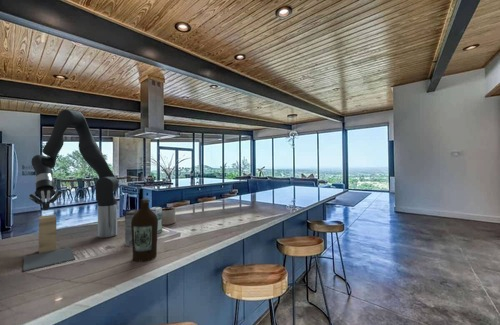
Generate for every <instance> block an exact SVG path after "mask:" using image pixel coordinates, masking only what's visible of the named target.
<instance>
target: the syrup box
mask: <svg viewBox="0 0 500 325" xmlns="http://www.w3.org/2000/svg"><path fill="white" fill-rule="evenodd" d="M149 208H150V209H151V210H152V211H153V212H154V213H155V214H156V216H157V218H158V230H157V234H159V233H161V232H163V225H162V207H160V206H153V207H149Z"/></svg>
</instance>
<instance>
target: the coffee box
mask: <svg viewBox="0 0 500 325" xmlns="http://www.w3.org/2000/svg"><path fill="white" fill-rule="evenodd" d="M139 210H140V209H131V210H129V211H128V212H125V213H124V245H125V246H127V247H128V246H131V247H132V230H131V221H132V218H133V216H134V215H135V214H136V213H137V212H138V211H139Z"/></svg>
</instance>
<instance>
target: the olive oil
mask: <svg viewBox="0 0 500 325" xmlns="http://www.w3.org/2000/svg"><path fill="white" fill-rule="evenodd" d="M139 204H140V209H138V210H139V211H138V212H137V213H136V214H135V215H134V216H133V218H132V221H131V230H132V246H131V247H132V260H133V261H135V262H146V261H151V260H153V259H155V258H156V257H157V254H158V233H157V230H158V218H157V216H156V214H155V213H154V212H153V211H152V210H151V209H150V208H151V207H150V202H149V198H142V199H140V203H139Z"/></svg>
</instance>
